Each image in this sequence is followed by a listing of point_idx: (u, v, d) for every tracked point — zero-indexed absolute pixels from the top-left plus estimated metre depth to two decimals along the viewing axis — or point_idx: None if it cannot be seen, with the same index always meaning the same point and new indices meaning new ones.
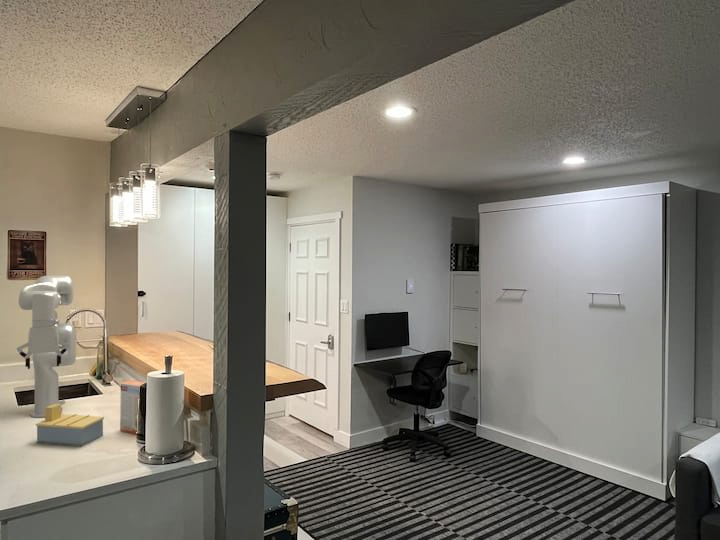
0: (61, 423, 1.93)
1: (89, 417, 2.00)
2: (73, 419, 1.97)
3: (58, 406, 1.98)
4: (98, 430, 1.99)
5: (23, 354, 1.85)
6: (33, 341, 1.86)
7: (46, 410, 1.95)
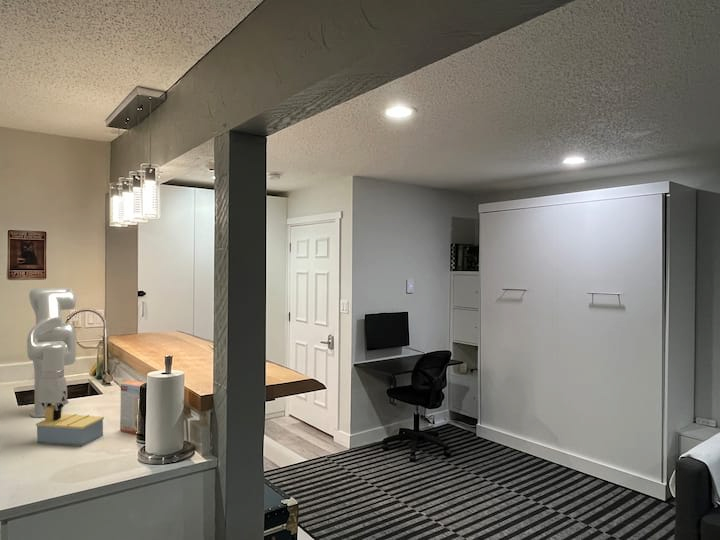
0: (61, 423, 1.93)
1: (89, 417, 2.00)
2: (73, 419, 1.97)
3: None
4: (98, 430, 1.99)
5: None
6: None
7: (46, 410, 1.95)
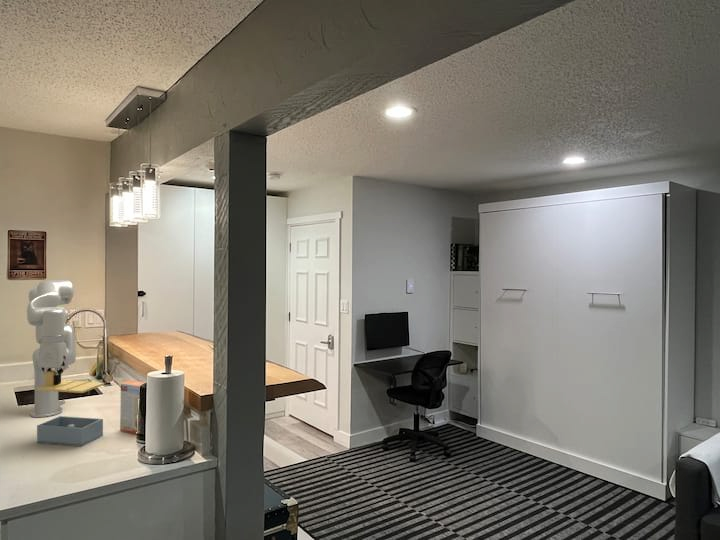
0: (61, 387, 1.92)
1: (89, 383, 2.00)
2: (73, 384, 1.97)
3: None
4: (98, 430, 1.99)
5: None
6: None
7: (46, 375, 1.95)
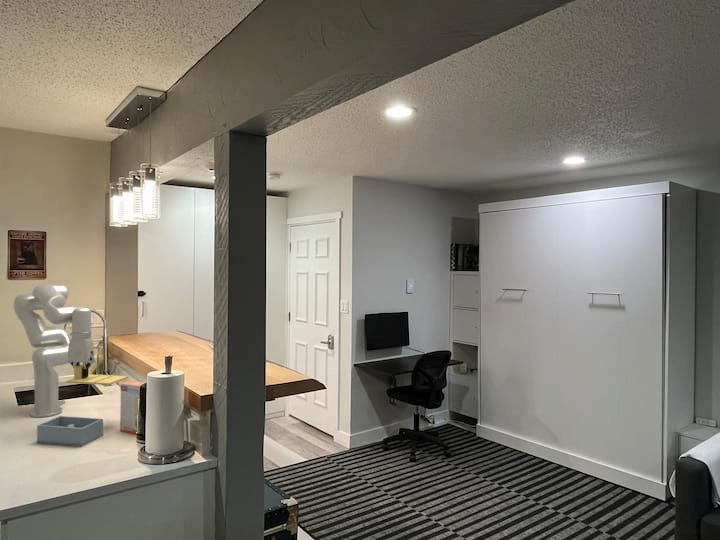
0: (89, 380, 2.08)
1: (114, 376, 2.16)
2: (100, 378, 2.13)
3: None
4: (98, 430, 1.99)
5: None
6: None
7: (75, 369, 2.11)
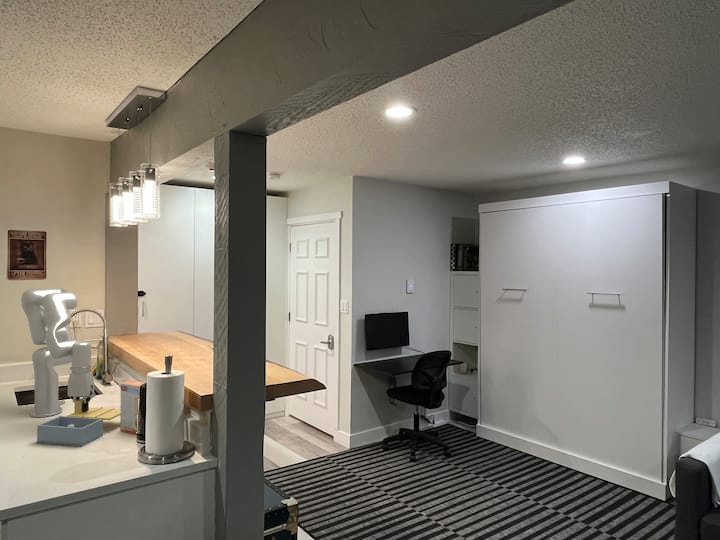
0: (89, 415, 2.08)
1: (114, 410, 2.16)
2: (100, 412, 2.13)
3: None
4: (98, 430, 1.99)
5: None
6: None
7: (75, 404, 2.11)
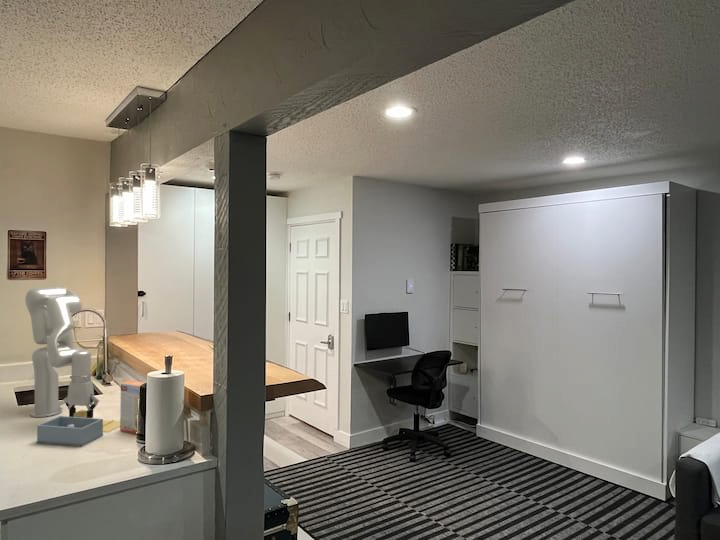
0: None
1: (113, 422, 2.16)
2: None
3: (85, 412, 2.15)
4: (98, 430, 1.99)
5: None
6: None
7: (74, 416, 2.11)
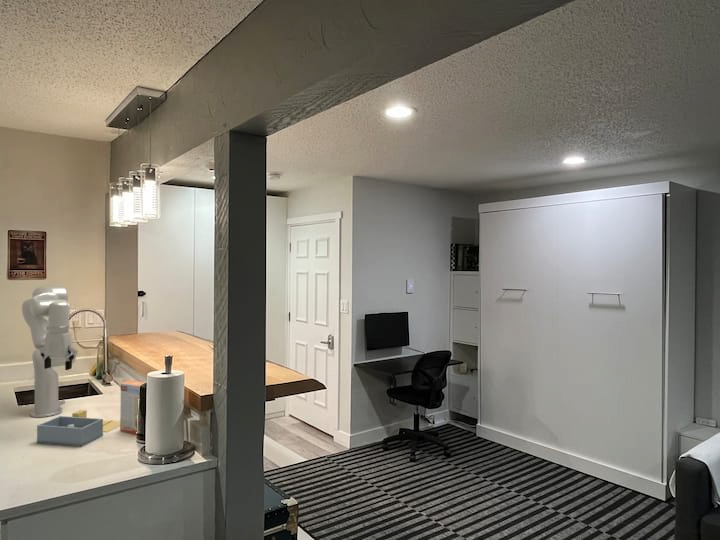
0: None
1: (112, 422, 2.16)
2: None
3: (84, 412, 2.15)
4: (98, 430, 1.99)
5: None
6: None
7: (73, 416, 2.11)
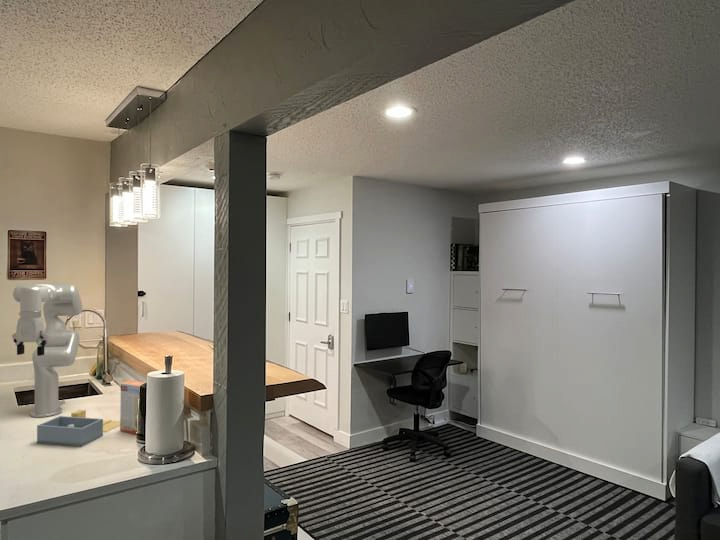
0: None
1: (111, 422, 2.16)
2: None
3: (83, 412, 2.15)
4: (98, 430, 1.99)
5: None
6: None
7: (72, 416, 2.12)
